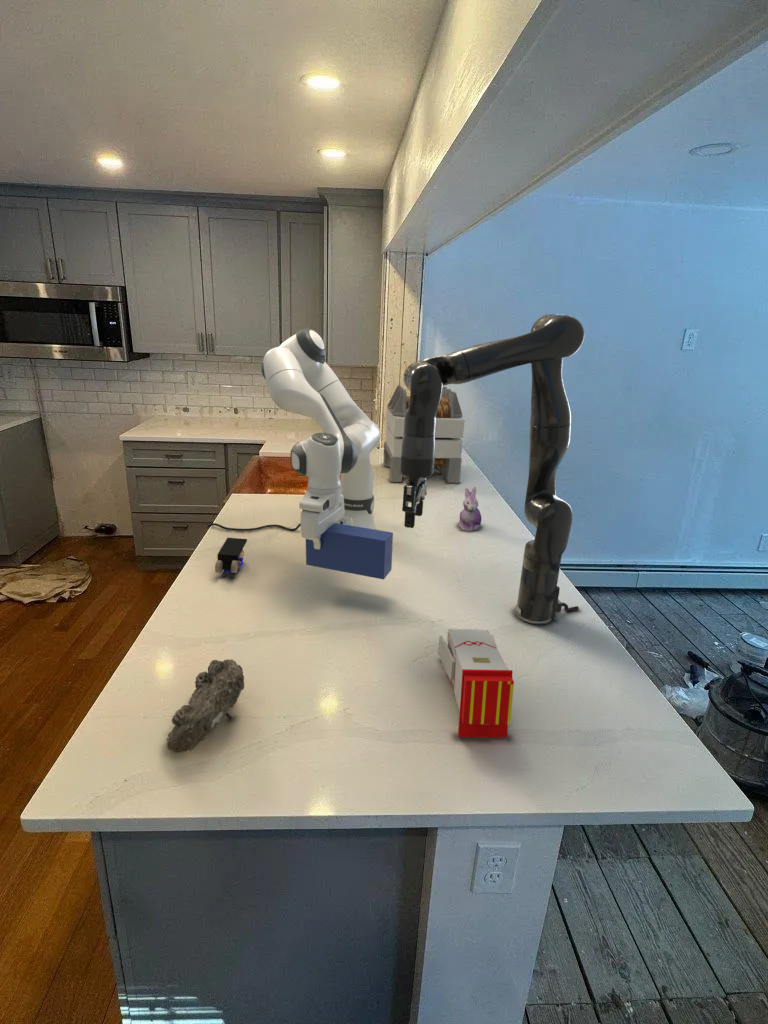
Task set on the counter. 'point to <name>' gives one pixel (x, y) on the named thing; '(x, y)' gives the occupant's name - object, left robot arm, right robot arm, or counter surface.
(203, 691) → the fossil
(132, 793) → the counter surface
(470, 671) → the toy
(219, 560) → the figurine character
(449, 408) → the grey slatted crate
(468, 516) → the figurine
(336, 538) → the box
